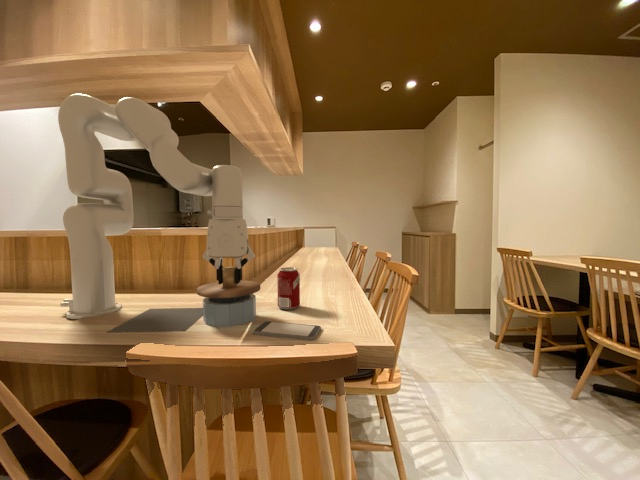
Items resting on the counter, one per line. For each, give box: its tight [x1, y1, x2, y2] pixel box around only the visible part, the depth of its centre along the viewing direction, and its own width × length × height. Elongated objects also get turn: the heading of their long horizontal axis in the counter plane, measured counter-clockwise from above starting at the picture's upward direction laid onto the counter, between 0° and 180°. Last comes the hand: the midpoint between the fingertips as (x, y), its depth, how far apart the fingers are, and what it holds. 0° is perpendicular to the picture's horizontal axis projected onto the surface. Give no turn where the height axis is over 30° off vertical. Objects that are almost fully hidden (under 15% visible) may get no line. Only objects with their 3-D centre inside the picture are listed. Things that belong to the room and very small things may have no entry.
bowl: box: [202, 293, 257, 328], centre depth 74 cm, size 13×13×6 cm
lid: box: [196, 266, 261, 298], centre depth 74 cm, size 16×16×6 cm
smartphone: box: [252, 320, 322, 342], centre depth 66 cm, size 7×1×15 cm
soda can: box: [276, 266, 301, 311], centre depth 85 cm, size 7×7×12 cm
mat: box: [105, 307, 203, 334], centre depth 74 cm, size 18×18×1 cm
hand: (229, 282), depth 74 cm, fingers closed on lid, 3 cm apart
